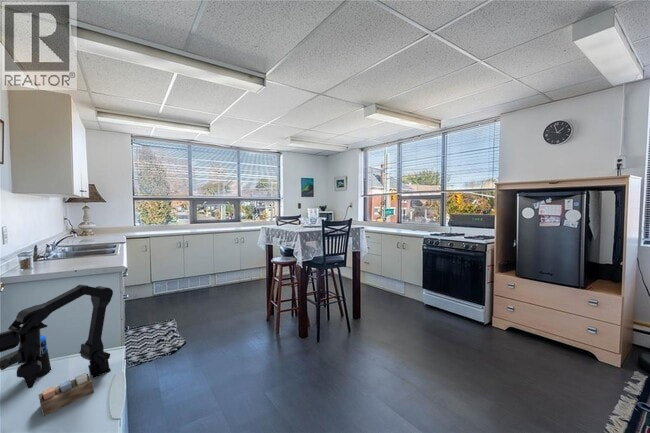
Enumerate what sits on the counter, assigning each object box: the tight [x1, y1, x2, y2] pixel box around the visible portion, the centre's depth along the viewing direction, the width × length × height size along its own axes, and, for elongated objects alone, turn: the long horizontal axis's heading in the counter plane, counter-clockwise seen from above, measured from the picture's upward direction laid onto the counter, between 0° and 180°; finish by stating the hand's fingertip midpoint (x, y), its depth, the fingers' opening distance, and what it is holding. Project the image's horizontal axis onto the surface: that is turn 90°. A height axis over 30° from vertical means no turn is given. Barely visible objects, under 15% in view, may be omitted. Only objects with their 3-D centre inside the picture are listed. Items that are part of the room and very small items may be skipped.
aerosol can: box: [37, 334, 52, 379], centre depth 134 cm, size 8×8×20 cm
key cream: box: [74, 373, 88, 386], centre depth 121 cm, size 3×3×4 cm
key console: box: [38, 373, 95, 417], centre depth 118 cm, size 15×8×5 cm, turn 140°
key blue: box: [58, 379, 72, 393], centre depth 118 cm, size 3×3×4 cm
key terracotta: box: [41, 386, 55, 400], centre depth 114 cm, size 3×3×4 cm
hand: (31, 382), depth 112 cm, fingers open, 9 cm apart
